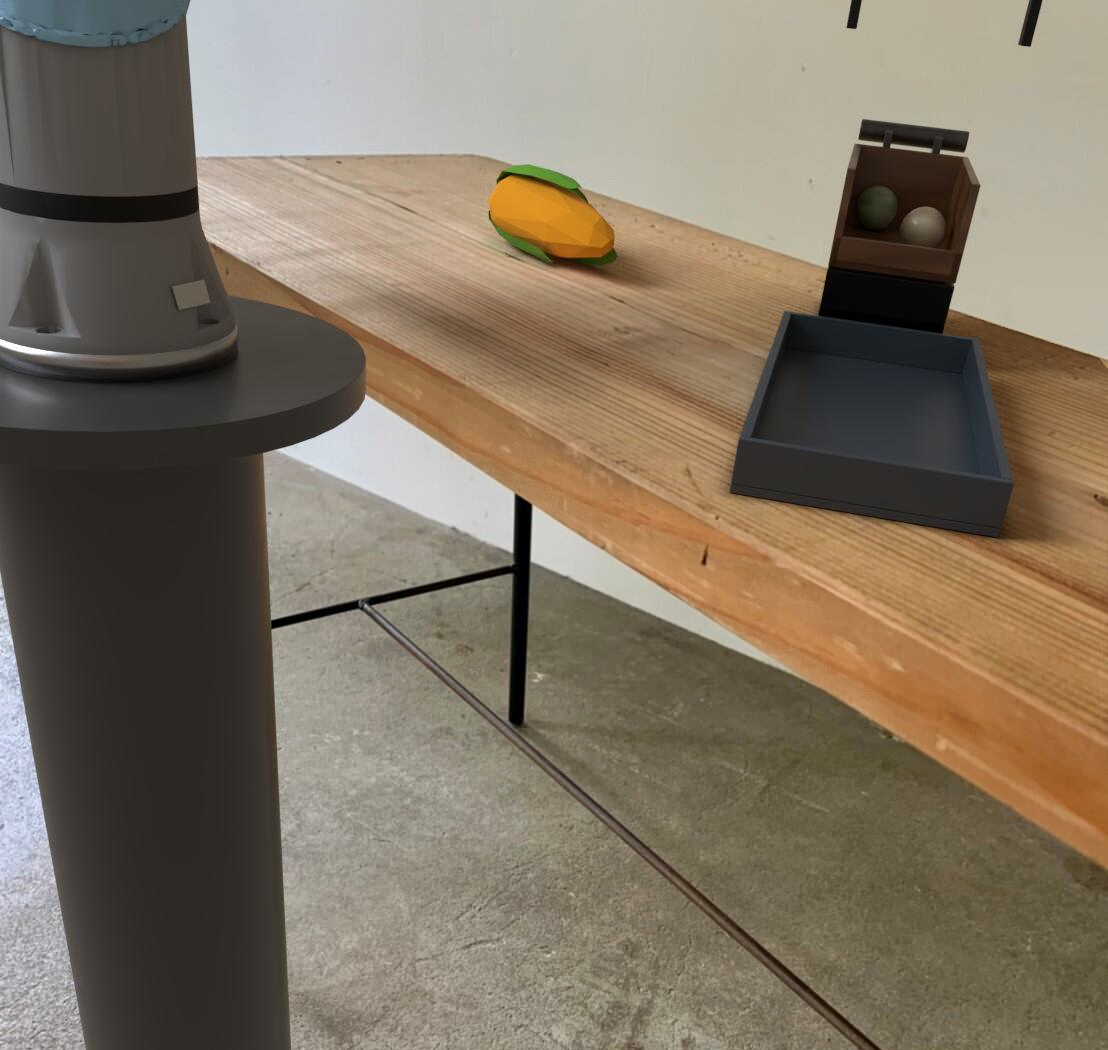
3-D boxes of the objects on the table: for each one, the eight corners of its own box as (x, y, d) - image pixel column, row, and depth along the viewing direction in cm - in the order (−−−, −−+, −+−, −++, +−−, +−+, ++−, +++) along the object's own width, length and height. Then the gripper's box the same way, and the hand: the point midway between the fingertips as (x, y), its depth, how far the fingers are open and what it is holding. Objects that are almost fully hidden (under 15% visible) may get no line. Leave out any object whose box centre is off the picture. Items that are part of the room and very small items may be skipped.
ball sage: (842, 226, 100) (851, 182, 99) (871, 230, 102) (880, 186, 100) (872, 231, 98) (881, 185, 96) (901, 234, 99) (911, 189, 98)
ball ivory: (886, 247, 91) (894, 206, 92) (913, 268, 93) (921, 228, 94) (924, 233, 89) (932, 191, 89) (950, 255, 91) (958, 214, 91)
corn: (538, 150, 116) (654, 188, 102) (537, 234, 121) (648, 281, 107) (469, 155, 113) (580, 195, 99) (470, 240, 118) (576, 290, 104)
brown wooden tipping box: (955, 283, 87) (987, 159, 83) (827, 266, 88) (852, 143, 84) (945, 235, 104) (971, 130, 100) (839, 221, 106) (860, 117, 101)
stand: (933, 369, 90) (954, 286, 87) (810, 351, 92) (827, 269, 89) (928, 318, 105) (946, 245, 101) (822, 303, 106) (836, 231, 103)
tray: (997, 537, 63) (1014, 483, 61) (729, 492, 65) (738, 438, 64) (968, 380, 89) (979, 338, 87) (776, 351, 91) (784, 310, 89)
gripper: (1187, -289, 86) (1092, 51, 98) (837, -309, 90) (785, 20, 102) (1210, -311, 80) (1105, 55, 91) (833, -331, 84) (778, 22, 95)
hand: (936, 37), depth 97 cm, fingers open, 13 cm apart
